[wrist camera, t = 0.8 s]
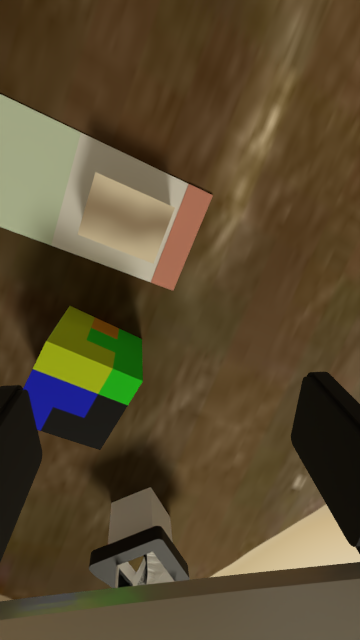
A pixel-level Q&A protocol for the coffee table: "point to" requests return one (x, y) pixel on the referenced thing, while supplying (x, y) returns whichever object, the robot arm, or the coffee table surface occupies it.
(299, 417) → the robot arm
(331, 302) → the coffee table surface
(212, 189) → the coffee table surface
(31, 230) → the lane
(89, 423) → the puzzle toy
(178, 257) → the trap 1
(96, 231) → the birch block
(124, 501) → the black-topped pedestal
